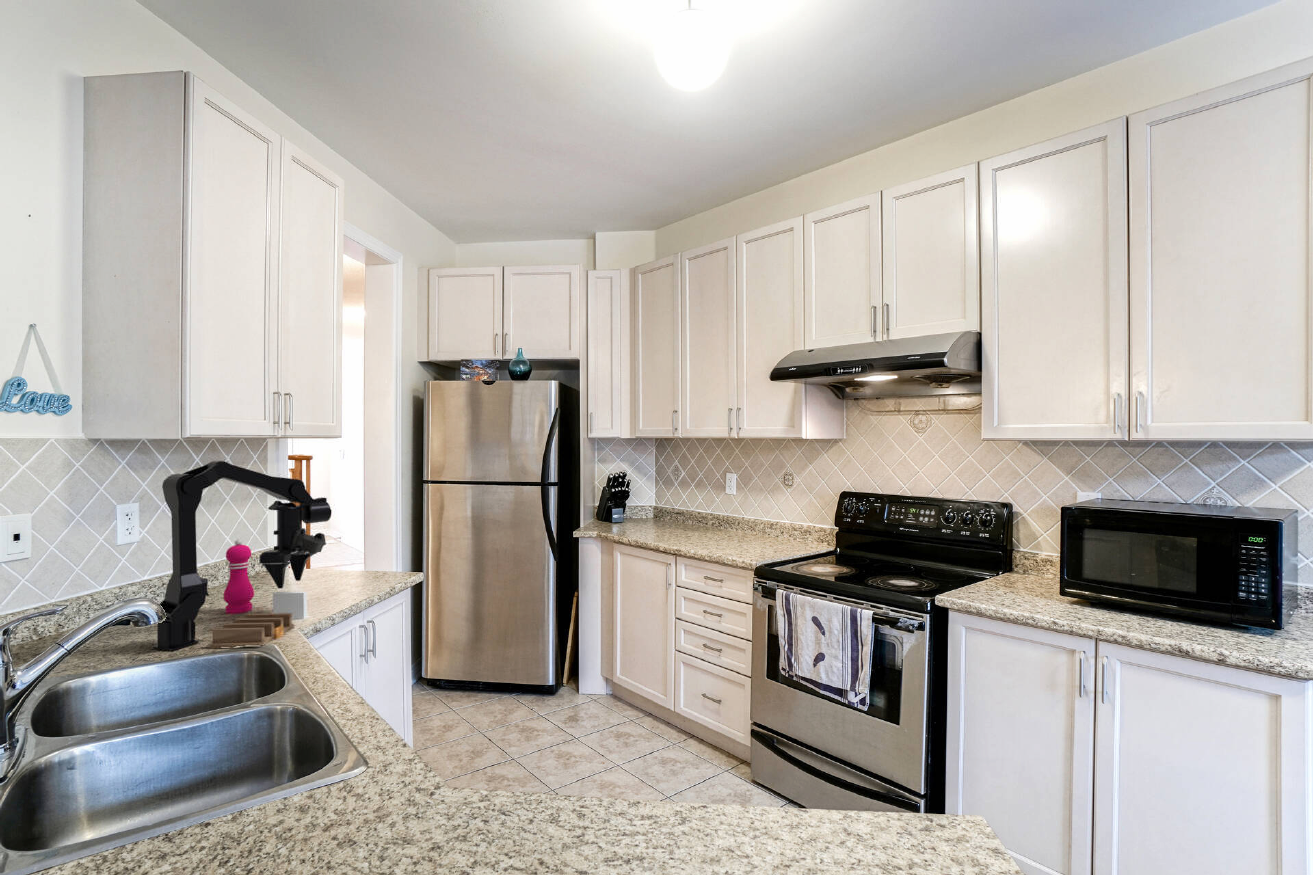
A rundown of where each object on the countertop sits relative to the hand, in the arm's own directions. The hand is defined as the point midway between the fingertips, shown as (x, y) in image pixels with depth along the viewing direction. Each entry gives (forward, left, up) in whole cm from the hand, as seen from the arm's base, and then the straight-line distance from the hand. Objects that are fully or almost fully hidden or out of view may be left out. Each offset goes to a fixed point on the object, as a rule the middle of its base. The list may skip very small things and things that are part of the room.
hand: (289, 584), depth 175 cm
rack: (-16, -6, -9) cm, 19 cm away
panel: (0, 0, -9) cm, 9 cm away
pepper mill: (+2, +20, -9) cm, 22 cm away
